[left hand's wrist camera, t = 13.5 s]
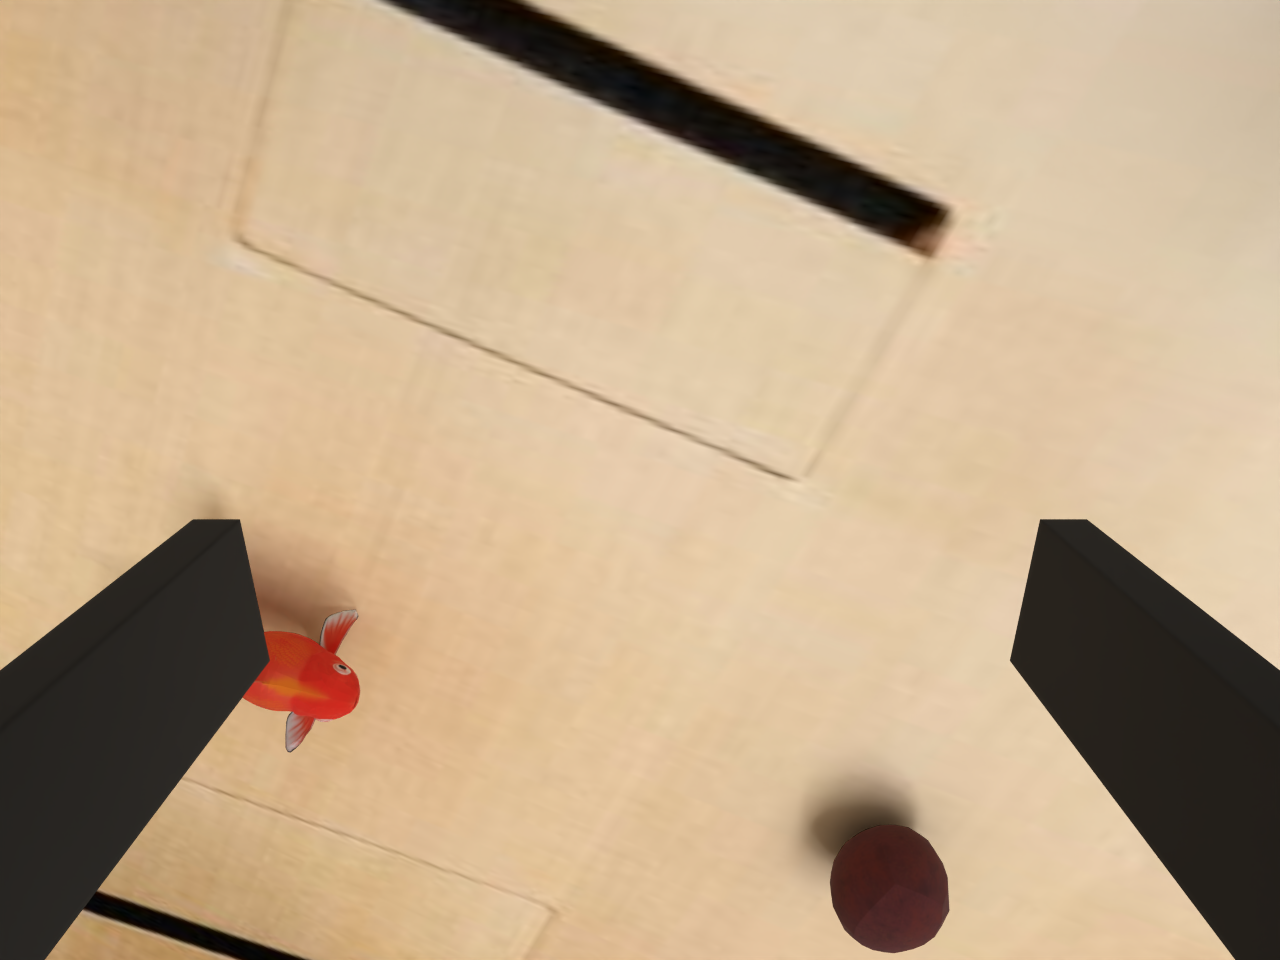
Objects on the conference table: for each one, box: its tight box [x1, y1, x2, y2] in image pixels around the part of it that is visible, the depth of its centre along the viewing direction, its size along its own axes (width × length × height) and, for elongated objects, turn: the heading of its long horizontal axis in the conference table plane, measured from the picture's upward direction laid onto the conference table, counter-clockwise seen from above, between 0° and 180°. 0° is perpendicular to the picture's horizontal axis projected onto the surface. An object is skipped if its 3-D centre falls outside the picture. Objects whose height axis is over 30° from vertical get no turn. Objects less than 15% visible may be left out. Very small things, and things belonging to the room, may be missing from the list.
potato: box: [830, 825, 949, 953], centre depth 50 cm, size 7×8×7 cm
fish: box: [243, 610, 360, 752], centre depth 43 cm, size 11×16×10 cm
